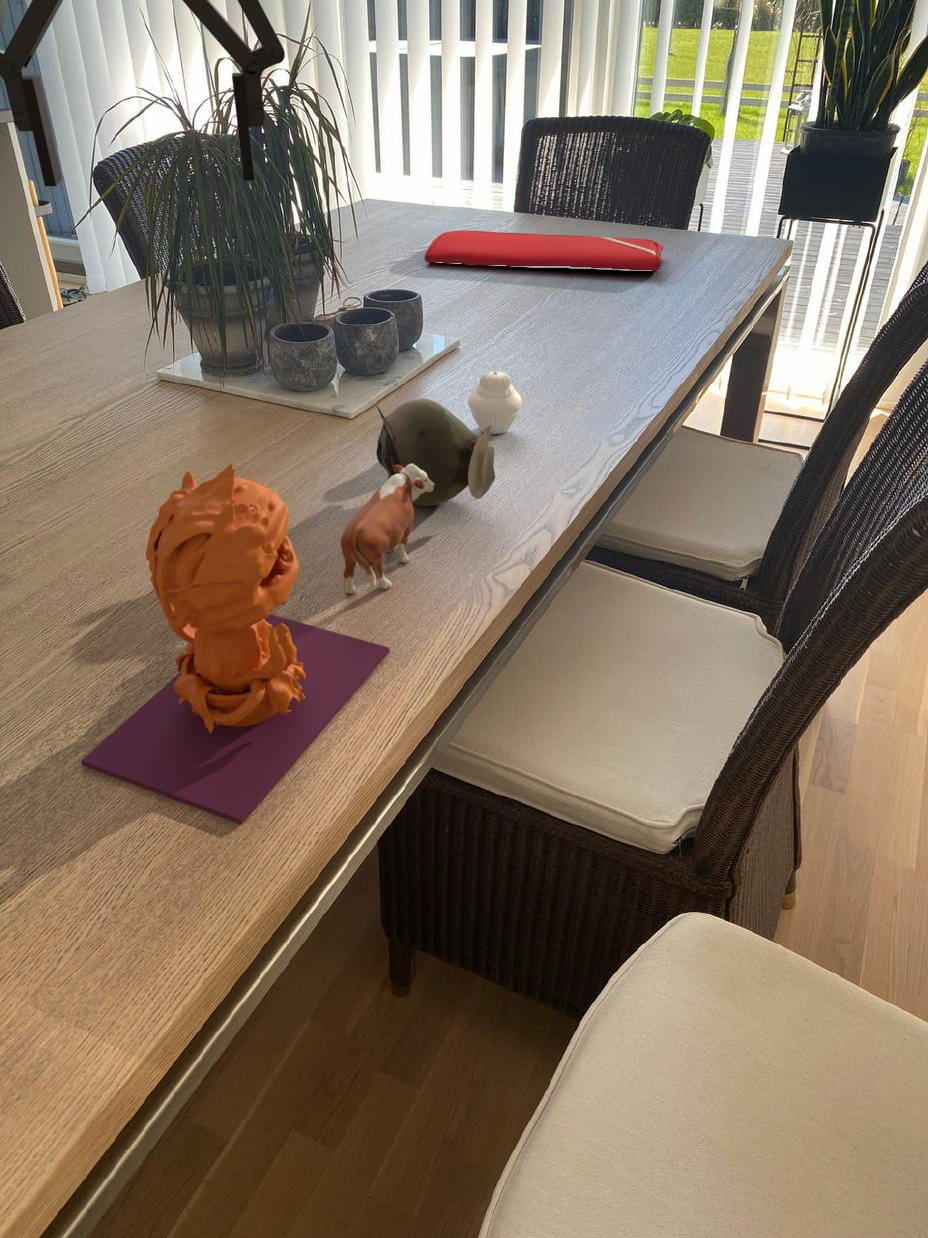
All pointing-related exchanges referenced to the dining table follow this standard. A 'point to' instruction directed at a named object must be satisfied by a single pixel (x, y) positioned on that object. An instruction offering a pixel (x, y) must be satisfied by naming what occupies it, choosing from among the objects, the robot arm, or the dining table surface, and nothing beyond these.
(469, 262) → the dish drying mat
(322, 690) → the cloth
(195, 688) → the orange character figurine
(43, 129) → the robot arm
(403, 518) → the bull figurine
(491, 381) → the muffin
